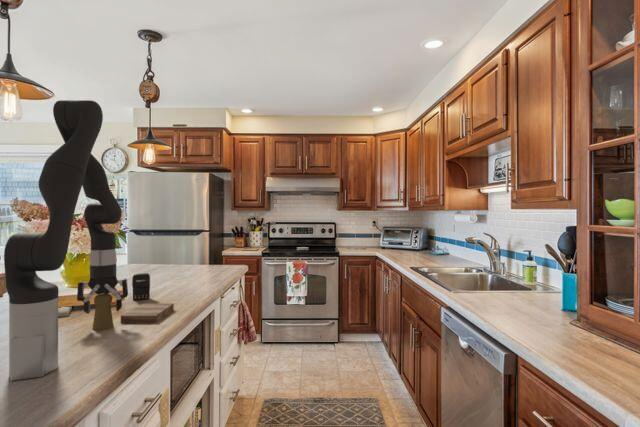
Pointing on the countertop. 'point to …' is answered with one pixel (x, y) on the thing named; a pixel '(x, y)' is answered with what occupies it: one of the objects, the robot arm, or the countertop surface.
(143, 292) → the battery charger
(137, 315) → the walnut board
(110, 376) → the countertop surface
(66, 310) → the washcloth
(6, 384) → the countertop surface
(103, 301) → the cork
